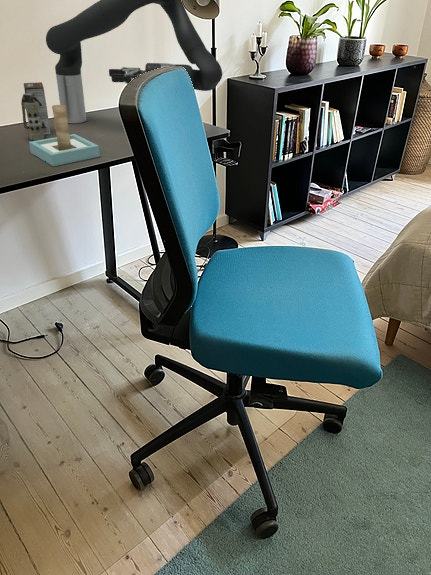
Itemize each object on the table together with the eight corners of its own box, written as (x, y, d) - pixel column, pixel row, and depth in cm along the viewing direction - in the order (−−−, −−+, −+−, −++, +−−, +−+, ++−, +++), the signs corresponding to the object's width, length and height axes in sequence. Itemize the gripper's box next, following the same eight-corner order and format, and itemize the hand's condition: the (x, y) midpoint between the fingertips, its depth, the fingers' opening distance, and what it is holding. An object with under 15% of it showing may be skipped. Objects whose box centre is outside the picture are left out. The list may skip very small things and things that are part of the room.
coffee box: (31, 128, 174) (22, 82, 165) (49, 127, 176) (41, 82, 167) (32, 135, 167) (24, 87, 158) (51, 134, 169) (44, 87, 160)
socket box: (30, 152, 152) (28, 141, 150) (76, 144, 161) (74, 133, 159) (53, 166, 142) (51, 155, 140) (99, 156, 151) (98, 145, 149)
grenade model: (49, 136, 167) (42, 92, 159) (38, 142, 161) (30, 96, 153) (33, 134, 168) (26, 90, 160) (22, 139, 163) (13, 94, 154)
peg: (57, 154, 151) (49, 105, 143) (68, 151, 154) (61, 104, 145) (62, 157, 149) (55, 108, 141) (74, 155, 151) (67, 106, 143)
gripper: (157, 59, 155) (107, 58, 151) (165, 67, 144) (111, 66, 140) (157, 83, 159) (108, 83, 155) (165, 93, 148) (113, 93, 144)
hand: (110, 75), depth 147 cm, fingers open, 8 cm apart
